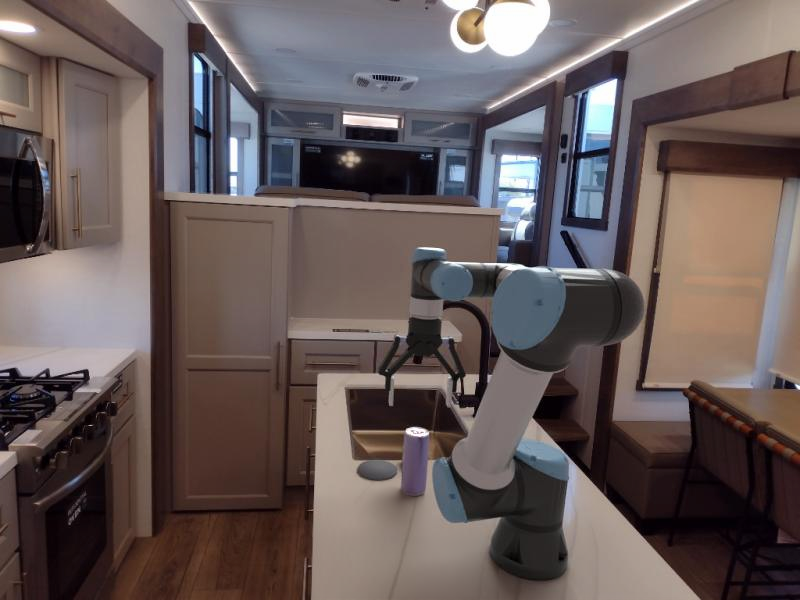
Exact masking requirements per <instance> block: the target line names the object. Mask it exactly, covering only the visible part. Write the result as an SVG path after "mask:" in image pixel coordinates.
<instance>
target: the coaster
mask: <svg viewBox="0 0 800 600" xmlns="http://www.w3.org/2000/svg"><path fill="white" fill-rule="evenodd" d="M357 472H358V474H359V475H360V476H361V477H363V478H364V479H368V480H372V481H385V480H390V479H392V478H394V477H395V476H396V475H397V473H398V467H397V466H396V465H395V464H394V463H392V462H390V461H387V460H382V459H370V460H369V459H368V460H366V461H363V462H361V463H360V464H359V465H358V466H357Z"/></svg>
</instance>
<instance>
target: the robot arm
mask: <svg viewBox="0 0 800 600" xmlns="http://www.w3.org/2000/svg"><path fill="white" fill-rule="evenodd" d="M410 278H411V283H410V301H409V314H410V315H409V317H408V329H407V335H406V336H404V335H399V334H398V333H397V334H394V336H393V342H392V344H391V346H390V348H389V350H388V351H387V352H386V355H385V356H384V358H383V360H382V362H381V364H379V367H378V368H377V371H378V375H379V376H383V377H384V378H385V379H384V389H385V391H386V392H388V393H389V394H388V404H389V405H388V406H389V407H393V406H394V391H395V377H394V374H395V373H396V372H398V370H400V368H401V367H402V366H403V365H404V364H405V363H406V362H407V361H408V360H409V359H410V358H412V357H413V356H414V355H415V356H416V357H422V356H424V357H431V356H433V355H434V356H435V358H436V359H437V360H438V362H439V363H440V364H441V365H442V366H443V368H444V369H445V370H446V372H447V373H448V374H449V376H448V377H447V382H446V383H447V385H446V396H445V397H446V398H445V405H446V407H447V408H451V407H452V397H453V394H454V393H456V392H457V388H458V381H459V379H460V378H466V376H467V374H466V371H465V370H464V366H463V363H462V362H461V360H460V358H459V355H458V353H457V351H456V347H455V346H456V345H455V339H454V338H453V337H452V335H449V336H447V337H442V324H443V323H442V321H443V319H442V317H441V316H442V315H443V309H444V308H443V307H444V300H445V301H450V302H460V301H462V300H463V299H482V298H484V299H492V301H491V308H490V309H491V310H492V314H491V315H490V324H491V329H492V333H493V335H494V337H495V339H496V342H497V343H496V344H497V345H498V348H499V349H500V353H499V356H498V357H497V361H496V364H495V366H494V369H493V372H492V374H491V376H490V379H489V381H488V383H487V386H486V389H485V391H484V394H483V396H482V398H481V401H480V404H479V407H478V409H477V411H476V414H475V416H474V419H473V422H472V424H471V426H470V429H469V432H468V434H467V437H464V438H461V439H460V440H459V441H458V442H456V444H455V445H454V446H453V450H452V452H451V453H450V456H449V457H445V456H442V457H440V458H436V459H435V460H434V462H433V465H432V471H431V472H432V474H431V476H432V478H431V479H432V485H433V487H432V488H433V492H434V493H433V494H434V496H435V497H434V498H435V500H436V505H437V506H438V509H439V511H440V514H441V515H442V517H443V518H444V520H446V521H447V522H448V523H452V524H459V523H464V524H467V523H472V522H477V521H484V520H492V519H497V518H498V519H499V521H498V523H497V525H496V527H495V529H494V531H493V533H492V536H491V537H490V545H489V553H490V557H491V558H492V560H493V562H495V564H496V565H498V566H499V567H500V568H501V569H503V570H504V571H505V572H507V573H509V574H511V575H513V576H516V577H519V578H522V579H527V580H531V581H546V580H548V581H549V580H553V579H555V578H558V577H560V576H561V575H563V574H564V573H565V572H566V571H567V568H568V561H569V550H568V546H567V541H566V537H565V532H564V529H563V527H564V526H563V523H564V514H565V508H566V507H565V506H566V497H567V490H568V482H569V480H570V475H569V474H570V473H569V471H570V462H569V459H568V457H567V456H566V454H565V453H564V452H563V451H561V450H560V449H559V448H557V447H555V446H553V445H551V444H549V443H545V442H544V441H539V440H536V439H530V438H524V435H525V433H526V431H527V429H528V427H529V425H530V423H531V422H532V421H531V420H532V419H533V416H534V414H535V412H536V410H537V408H538V406H539V404H540V402H541V400H542V398H543V395H544V394H545V391H546V389H547V387H548V385H549V383H550V380H552V377H553V375H554V374H556V373H561V372H562V371H564V370H566V369H567V368H568V367H569V365H570V363H571V361H572V359H573V357H574V355H575V354H576V352H577V349H578V348H580V347H581V348H582V347H583V348H584V347H602V346H603V347H605V346H611V345H614V344H617V343H620V342H621V341H624V340H626V339H627V338H628V337H630V336H631V335H632V334H634V332H635V331H637V329H638V327H639V326H640V324H641V322H642V320H643V318H644V313H645V300H644V296H643V292H642V290H641V289H640V286H638V284H637V283H636V282H635V281H634V280H633V279H632V278H631V277H630V276H628V275H626V274H625V273H622V272H620V271H618V270H613V269H609V268H599V267H598V268H579V267H578V268H576V267H574V268H573V267H551V266H546V265H538V266H534V267H528V266H525V265H524V264H519V263H512V262H506V263H501V262H500V263H499V262H498V263H495V262H494V263H491V262H490V263H489V262H488V263H487V262H485V263H484V262H483V263H482V262H458V261H457V262H456V261H455V262H454V261H448V258H447V252H446V250H445V249H443V248H439V247H437V248H436V247H416V248H415V249H414V250H413V256H412V261H411V277H410ZM404 343H406V344H407V346H408V347H407V348H406V349H404V352H402V354H400V356H399V357H397V359H396V360H395V361H394V362H393V363H392V364H391V365H390V363H391V362H392V360H393V359H394V357H395V355H396V353H397V352H398V350H399V347H400V346H401V347H402V346H403V344H404ZM443 344H444V346H445V348H448V351H449V353H450V355H451V358H452V361H453V362H454V365H455V367H456V369H457V371H454V369H453V367H452V366H451V365H450V364H449V362H448V361H447V360H446V359H445V357H444V356H443V354H442V353H441V352H440V350H439V348H440V347H441V346H442V345H443Z"/></svg>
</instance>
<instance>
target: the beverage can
mask: <svg viewBox="0 0 800 600" xmlns="http://www.w3.org/2000/svg"><path fill="white" fill-rule="evenodd" d="M403 437H404V438H403V447H402V450H403V462H402V464H401V465H402V467H401V479H400V480H401V482H400V485H401V486H400V489H401V492H403V494H405V495H406V496H411V497H418V496H419V497H420V496H422V495H423V494H424V493H425V492H426V490H427V475H428V464H429V452H430V451H429V450H430V438H431V437H430V432H429V430H427V429H426V428H423V427H420V426H419V427H418V426H411V427H409V428H406V429H405V433H404V436H403Z"/></svg>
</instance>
